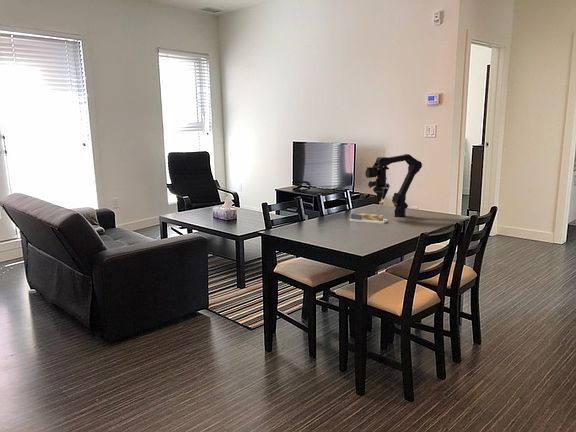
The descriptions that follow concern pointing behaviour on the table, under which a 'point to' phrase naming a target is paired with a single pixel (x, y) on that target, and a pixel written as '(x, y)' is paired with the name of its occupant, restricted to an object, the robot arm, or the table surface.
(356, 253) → the table surface
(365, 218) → the oak rail
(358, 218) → the bracket plate
